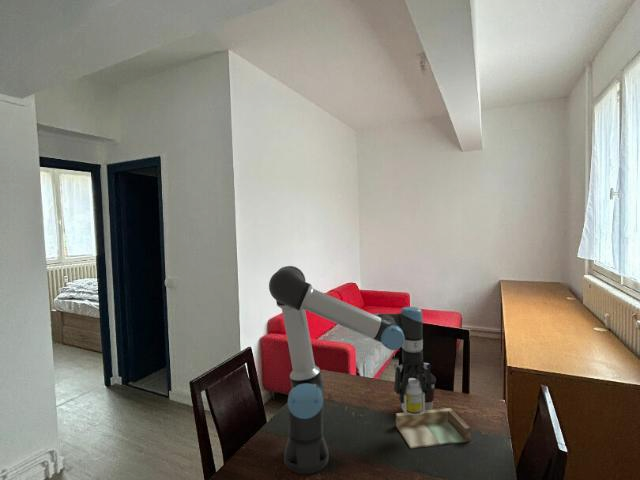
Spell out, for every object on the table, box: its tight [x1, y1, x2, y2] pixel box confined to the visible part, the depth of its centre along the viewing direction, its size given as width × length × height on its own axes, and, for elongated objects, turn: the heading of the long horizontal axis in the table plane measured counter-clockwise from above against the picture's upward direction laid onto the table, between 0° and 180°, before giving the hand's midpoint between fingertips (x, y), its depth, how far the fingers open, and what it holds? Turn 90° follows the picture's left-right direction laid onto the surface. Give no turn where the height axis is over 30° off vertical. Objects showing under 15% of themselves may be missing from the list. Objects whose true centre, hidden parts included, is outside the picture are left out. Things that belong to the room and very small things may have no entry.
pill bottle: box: [405, 377, 422, 415], centre depth 128 cm, size 6×6×12 cm
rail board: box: [395, 407, 472, 449], centre depth 129 cm, size 23×14×5 cm, turn 99°
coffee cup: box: [411, 369, 437, 411], centre depth 148 cm, size 10×10×15 cm
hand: (413, 409), depth 128 cm, fingers closed on pill bottle, 6 cm apart
